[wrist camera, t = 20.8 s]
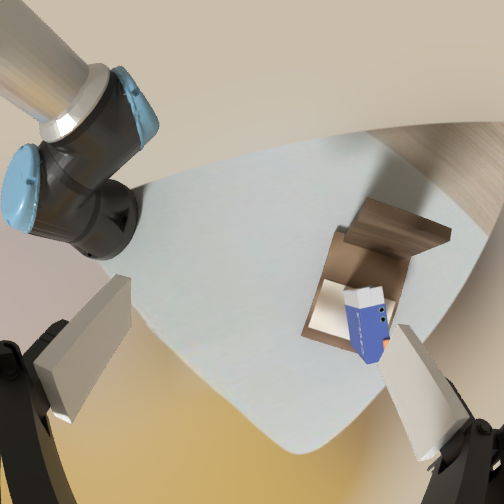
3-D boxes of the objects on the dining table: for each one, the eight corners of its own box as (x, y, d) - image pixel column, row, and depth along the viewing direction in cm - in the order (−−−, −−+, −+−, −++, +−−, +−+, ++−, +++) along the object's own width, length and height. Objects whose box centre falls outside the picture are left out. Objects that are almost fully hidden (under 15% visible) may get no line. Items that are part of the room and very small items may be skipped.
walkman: (369, 340, 36) (393, 359, 25) (350, 345, 37) (367, 365, 25) (361, 286, 38) (383, 282, 26) (342, 289, 38) (356, 288, 27)
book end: (376, 357, 37) (416, 395, 20) (301, 334, 40) (296, 362, 23) (407, 257, 38) (463, 233, 21) (334, 232, 41) (350, 192, 24)
